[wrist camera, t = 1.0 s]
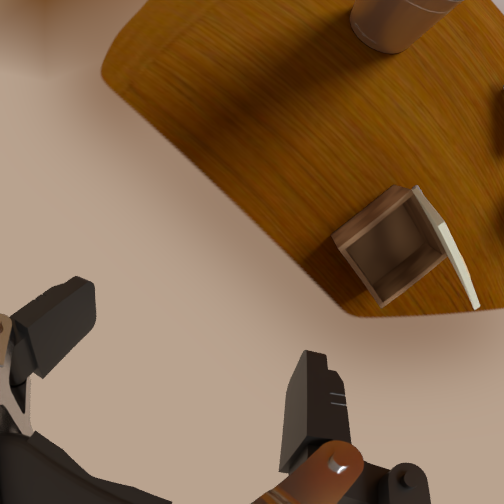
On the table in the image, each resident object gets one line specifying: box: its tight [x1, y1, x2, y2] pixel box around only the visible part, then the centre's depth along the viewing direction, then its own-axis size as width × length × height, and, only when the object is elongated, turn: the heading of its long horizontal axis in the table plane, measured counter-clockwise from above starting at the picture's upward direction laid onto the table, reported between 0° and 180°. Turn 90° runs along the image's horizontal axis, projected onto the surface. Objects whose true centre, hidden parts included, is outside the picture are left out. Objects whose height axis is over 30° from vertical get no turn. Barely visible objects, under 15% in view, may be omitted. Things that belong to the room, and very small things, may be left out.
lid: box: [412, 185, 480, 310], centre depth 24 cm, size 12×10×1 cm
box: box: [331, 185, 448, 308], centre depth 33 cm, size 11×10×6 cm
